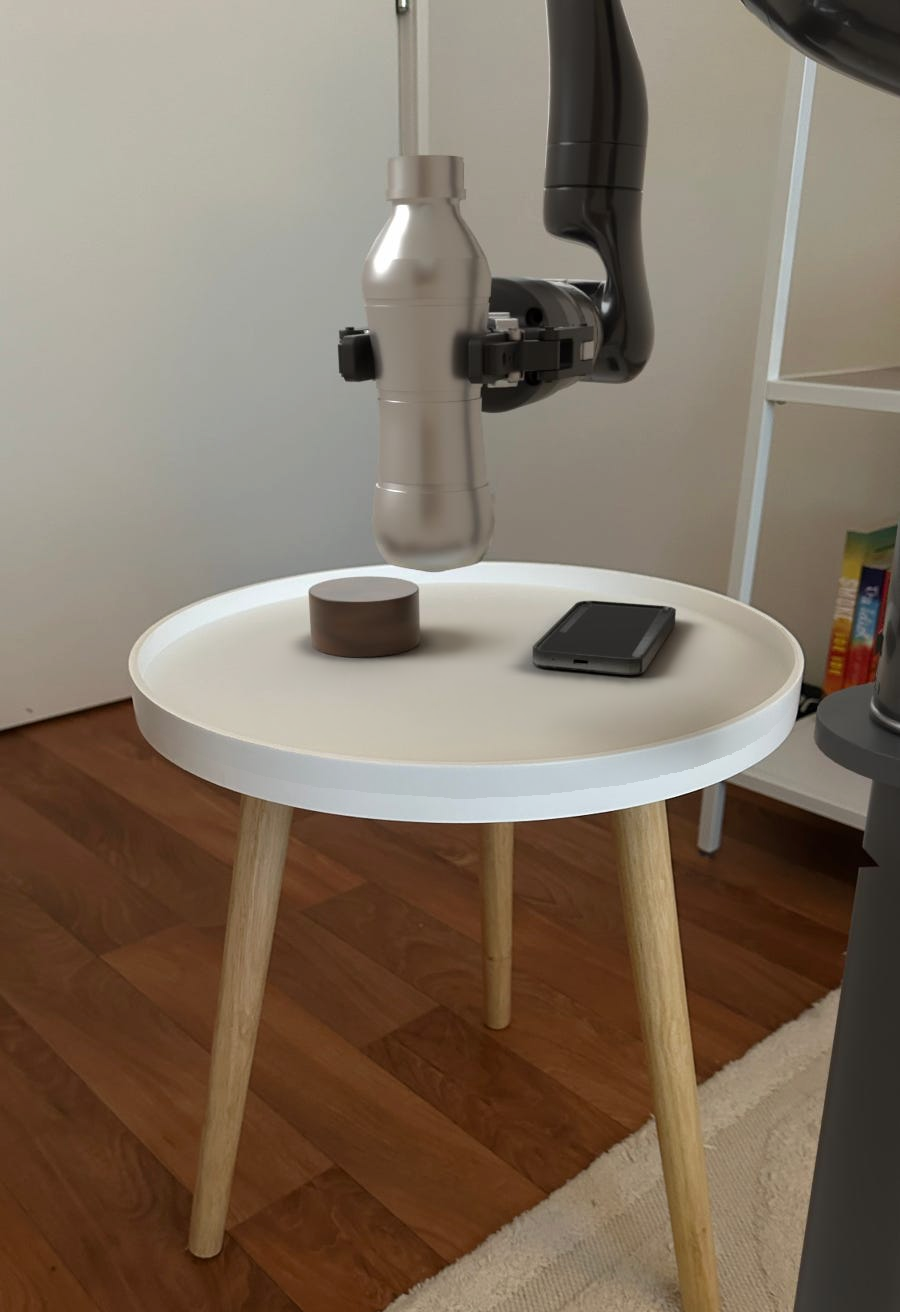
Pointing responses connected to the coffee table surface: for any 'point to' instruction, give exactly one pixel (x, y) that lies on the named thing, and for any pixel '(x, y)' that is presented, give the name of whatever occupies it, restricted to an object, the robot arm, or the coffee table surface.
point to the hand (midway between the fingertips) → (411, 360)
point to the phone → (605, 637)
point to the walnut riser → (364, 616)
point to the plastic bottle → (428, 371)
